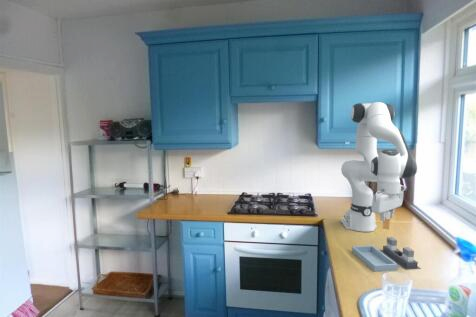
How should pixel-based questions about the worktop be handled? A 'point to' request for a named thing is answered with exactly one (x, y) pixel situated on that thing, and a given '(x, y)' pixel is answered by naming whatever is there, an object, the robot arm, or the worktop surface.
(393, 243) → the block
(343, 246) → the worktop surface
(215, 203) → the worktop surface
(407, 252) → the outer fuse
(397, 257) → the fuse block
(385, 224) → the marked fuse
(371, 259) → the tray
